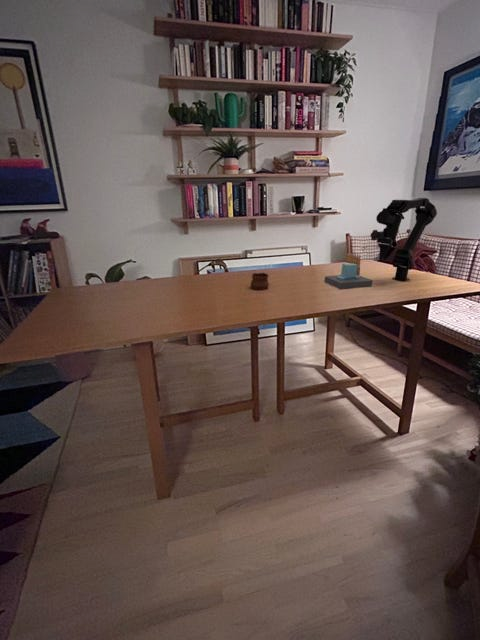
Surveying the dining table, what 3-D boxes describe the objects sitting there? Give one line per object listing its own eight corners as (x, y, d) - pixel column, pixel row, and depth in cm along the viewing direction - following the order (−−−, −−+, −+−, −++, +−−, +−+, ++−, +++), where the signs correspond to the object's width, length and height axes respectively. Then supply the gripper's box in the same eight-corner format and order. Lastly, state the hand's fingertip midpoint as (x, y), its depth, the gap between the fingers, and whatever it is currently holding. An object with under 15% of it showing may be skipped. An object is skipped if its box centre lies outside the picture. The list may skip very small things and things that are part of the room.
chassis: (354, 279, 168) (355, 273, 167) (371, 286, 156) (372, 280, 154) (324, 281, 163) (324, 276, 162) (340, 289, 151) (340, 283, 149)
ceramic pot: (258, 281, 164) (258, 268, 161) (285, 288, 152) (286, 274, 150) (233, 289, 152) (233, 274, 149) (261, 297, 141) (261, 282, 138)
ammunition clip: (359, 276, 174) (362, 254, 169) (356, 277, 173) (359, 255, 169) (346, 272, 183) (349, 251, 179) (343, 272, 182) (346, 251, 178)
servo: (354, 282, 163) (357, 261, 159) (359, 284, 159) (362, 263, 155) (335, 283, 160) (338, 262, 156) (340, 285, 156) (342, 264, 152)
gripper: (379, 227, 163) (370, 257, 167) (370, 222, 148) (361, 255, 152) (402, 230, 157) (392, 261, 161) (395, 225, 142) (385, 260, 146)
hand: (382, 259), depth 155 cm, fingers open, 9 cm apart
